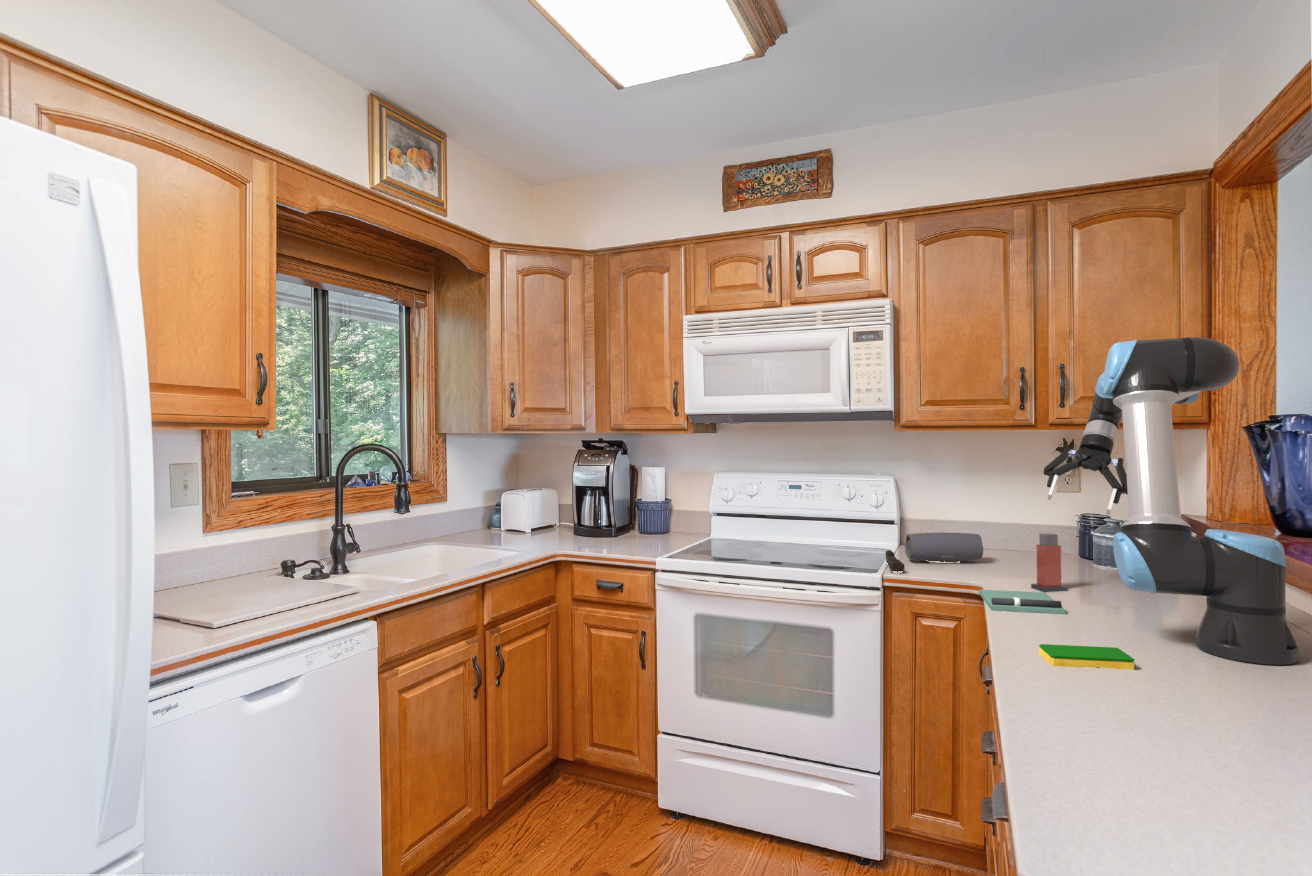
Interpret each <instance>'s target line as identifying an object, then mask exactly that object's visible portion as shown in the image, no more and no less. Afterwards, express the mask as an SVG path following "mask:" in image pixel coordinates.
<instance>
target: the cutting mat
mask: <svg viewBox="0 0 1312 876" xmlns="http://www.w3.org/2000/svg"><path fill="white" fill-rule="evenodd" d="M978 594H979V596H981V598H982V599H983V601H984V602H985V604H986V605H987V606H988V607H989V609H990V610H991V611H1001V612H1003V611H1004V612H1005V611H1006V612H1020V613H1039V614H1055V615H1056V614H1058V615H1066V609H1065V608H1064V607H1063V606H1062V605H1063V604H1062V601H1061V600H1054V598H1052V597H1051V596H1050V595H1049V593H1047V592H1042V591H1039V592H1038V591H1037V592H1036V591H1019V590H998V589H997V590H995V589H978Z"/></svg>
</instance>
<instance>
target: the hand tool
mask: <svg viewBox="0 0 1312 876" xmlns="http://www.w3.org/2000/svg"><path fill="white" fill-rule="evenodd" d="M895 555H896V554H895V553H894V552H893V551H892V550H891V549H889V550H885V560H886V562H887V563H888V565H889V566H888V567H889V569H890V572H891V571H897V572H898V571H903V572H904V569H905V564H904V563H903V562H901V560H900V559H898V558H897V557H896V556H895Z"/></svg>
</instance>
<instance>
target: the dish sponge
mask: <svg viewBox="0 0 1312 876" xmlns="http://www.w3.org/2000/svg"><path fill="white" fill-rule="evenodd" d="M1038 646H1039V648H1038V649H1039V653H1038V654H1039V656H1041V657H1042V658H1043V659H1044V660H1045V661H1046V662H1047V663H1048V664H1049V665H1050V666H1052V665H1053V667H1065V668H1066V667H1069V668H1070V667H1071V668H1084V667H1103V668H1105V667H1106V668H1116V669H1115V670H1122V669H1135V658H1133V657H1132V656H1131V655H1129V654H1127V653H1126V652H1124V651H1123V650H1122V649H1120V648H1119V647H1115V646H1114V647H1111V646H1094V645H1093V646H1092V645H1091V646H1089V645H1087V646H1086V645H1069V644H1067V645H1066V644H1049V643H1047V644H1045V643H1040V644H1039V645H1038ZM1103 668H1102V669H1103Z"/></svg>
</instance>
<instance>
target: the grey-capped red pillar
mask: <svg viewBox="0 0 1312 876" xmlns="http://www.w3.org/2000/svg"><path fill="white" fill-rule="evenodd" d="M1058 538H1059V537H1058V534H1055V533H1050V532H1049V533H1039V539H1038V540H1039V544H1036V583H1030V584H1031V585H1030V588H1031V589H1033V590H1036V591H1039V592H1042V593H1052V592H1053V593H1055V592H1067V591H1068V586H1066V585H1063V584H1062V549H1061V548H1062V545H1058V544H1059V543H1058V542H1059V541H1058V540H1059V539H1058Z"/></svg>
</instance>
